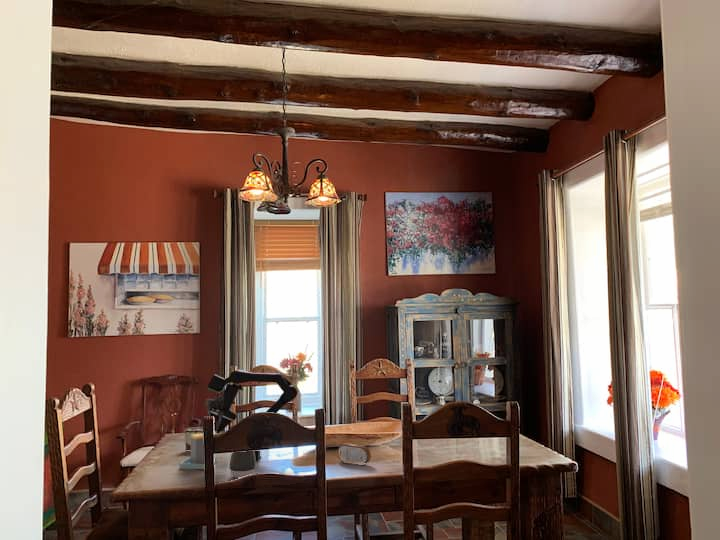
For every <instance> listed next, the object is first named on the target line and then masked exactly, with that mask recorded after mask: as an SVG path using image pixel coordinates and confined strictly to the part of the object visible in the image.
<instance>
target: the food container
mask: <svg viewBox="0 0 720 540" xmlns="http://www.w3.org/2000/svg"><path fill="white" fill-rule="evenodd" d="M203 427H204V426H195V427H194V426H193V427H187V428H184V430H183V434H184V439H185V441H184V444H185V451H186V450H191V435H192V434H199V433H203Z"/></svg>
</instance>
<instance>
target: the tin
mask: <svg viewBox="0 0 720 540" xmlns="http://www.w3.org/2000/svg"><path fill="white" fill-rule="evenodd" d="M336 453H337V458H338V460H339V461H340V460H341V461H352V462H364V463H367V462H368V463H369V462H370V460H371V458H372V457H371V456H372V455H371V451H370V449H369V448H368V447H367V446H366V445H365V444H358V443H351V442H344V443H342V444H341V445H339V447H338V448H337V452H336ZM341 461H340V462H341ZM368 463H367V464H368Z"/></svg>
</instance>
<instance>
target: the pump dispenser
mask: <svg viewBox="0 0 720 540" xmlns="http://www.w3.org/2000/svg"><path fill="white" fill-rule="evenodd" d="M229 460H230V461H229V470H230V473H231V475H232V477H234V478H235V479H238V477H243V476H246V475H249V474H252V475H253V474H254V472H255V470H256V468H257V461H256V458H255V452H254V451H246V452H234V453H231V455H230V459H229Z"/></svg>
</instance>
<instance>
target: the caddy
mask: <svg viewBox="0 0 720 540" xmlns="http://www.w3.org/2000/svg"><path fill="white" fill-rule="evenodd" d="M189 455H190V463H193V464H204V443H203V433H199V434H192V435H191V451H190V454H189Z"/></svg>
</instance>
